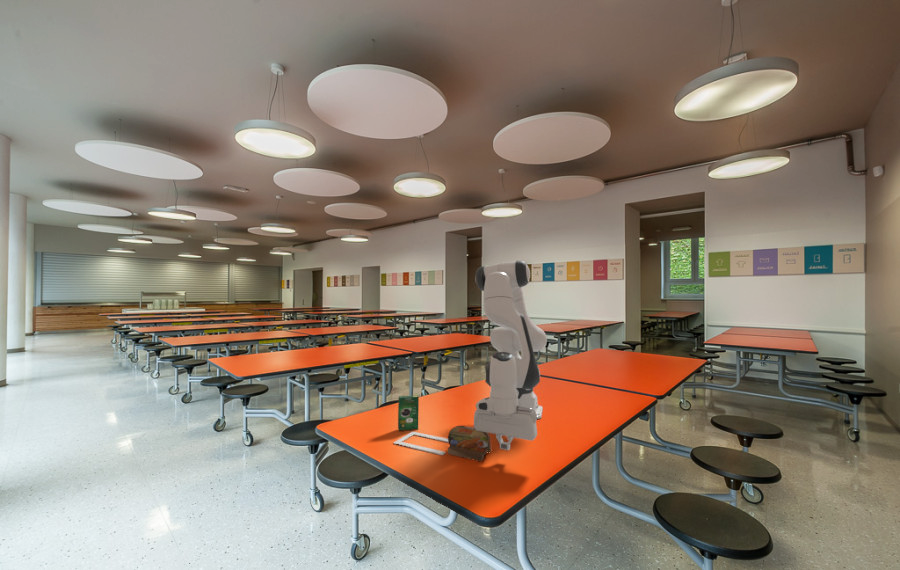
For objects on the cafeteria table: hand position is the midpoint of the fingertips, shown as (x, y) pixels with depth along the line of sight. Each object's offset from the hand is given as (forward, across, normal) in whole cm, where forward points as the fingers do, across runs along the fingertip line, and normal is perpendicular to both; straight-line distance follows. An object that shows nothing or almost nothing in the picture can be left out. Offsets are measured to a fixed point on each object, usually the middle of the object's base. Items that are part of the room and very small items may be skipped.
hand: (505, 448), depth 109 cm
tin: (+4, +12, 0) cm, 13 cm away
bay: (+4, +30, 0) cm, 30 cm away
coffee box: (+4, +43, -8) cm, 44 cm away
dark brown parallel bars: (+4, +12, 0) cm, 13 cm away
